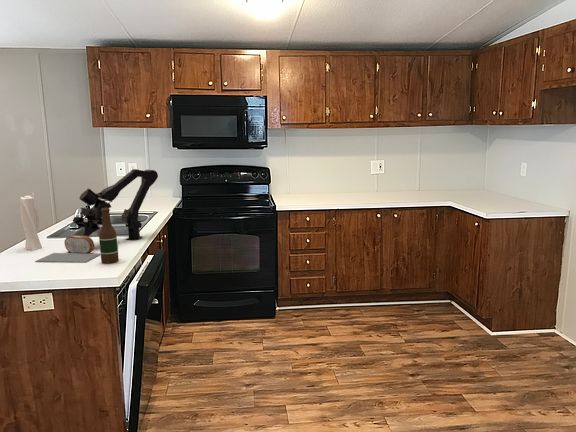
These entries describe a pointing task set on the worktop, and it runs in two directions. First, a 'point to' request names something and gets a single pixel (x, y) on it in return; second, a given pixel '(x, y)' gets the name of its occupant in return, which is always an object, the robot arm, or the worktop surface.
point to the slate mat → (69, 257)
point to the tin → (79, 244)
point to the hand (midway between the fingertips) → (85, 237)
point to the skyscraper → (30, 222)
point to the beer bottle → (108, 239)
